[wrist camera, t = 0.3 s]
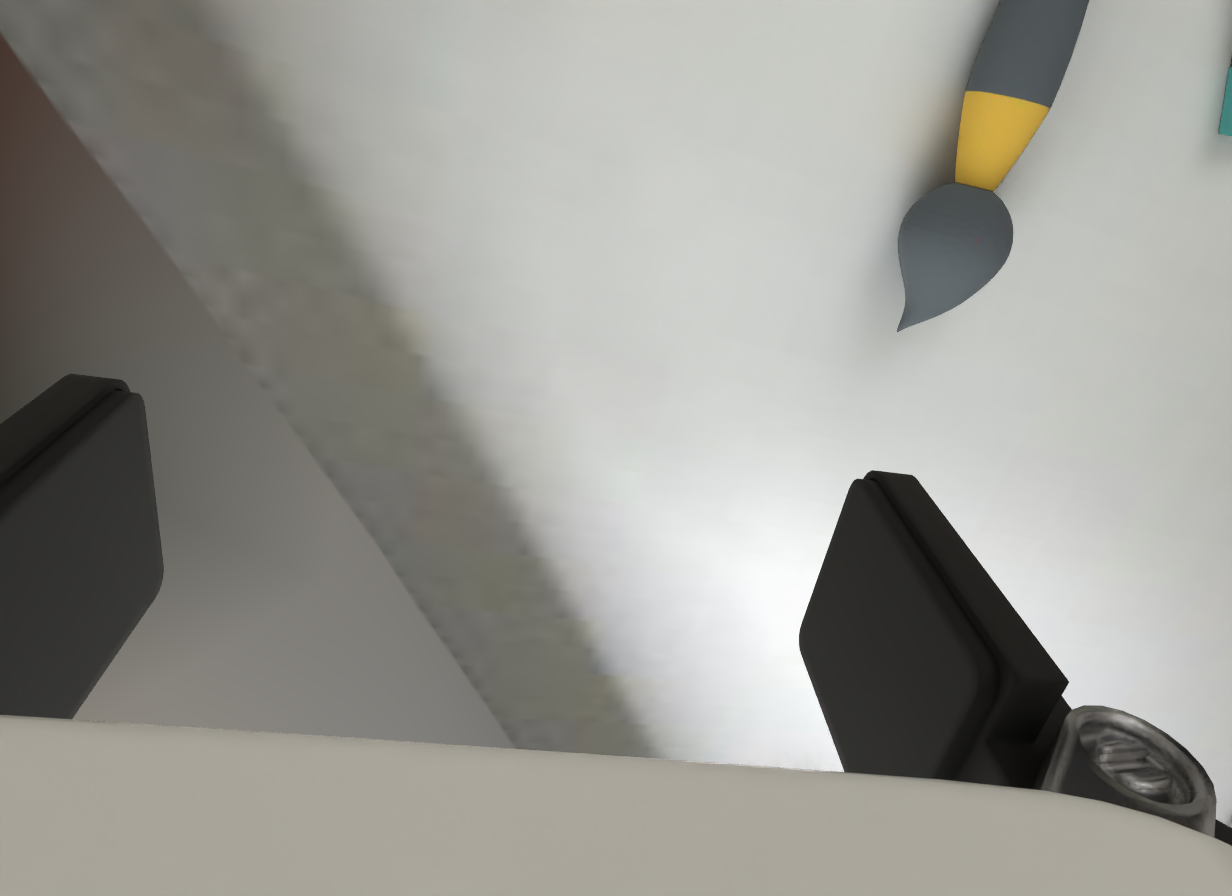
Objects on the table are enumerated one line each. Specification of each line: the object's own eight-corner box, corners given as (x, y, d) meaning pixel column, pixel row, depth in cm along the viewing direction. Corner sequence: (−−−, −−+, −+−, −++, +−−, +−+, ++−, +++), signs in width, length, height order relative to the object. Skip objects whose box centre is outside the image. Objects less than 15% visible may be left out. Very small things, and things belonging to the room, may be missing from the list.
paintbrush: (996, -151, 33) (1062, -175, 29) (1107, -129, 34) (1189, -149, 29) (858, 310, 42) (892, 346, 38) (947, 322, 43) (991, 358, 39)
